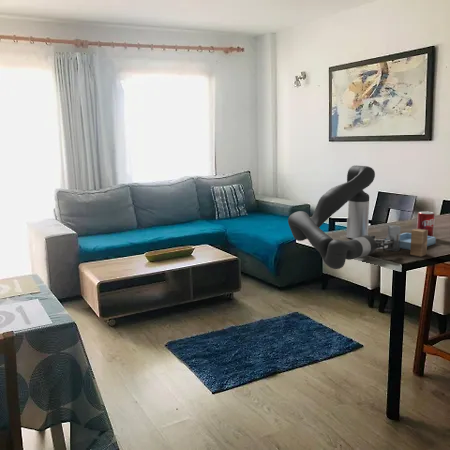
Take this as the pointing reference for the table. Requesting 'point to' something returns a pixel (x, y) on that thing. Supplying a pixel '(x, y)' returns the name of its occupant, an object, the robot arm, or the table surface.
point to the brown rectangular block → (419, 242)
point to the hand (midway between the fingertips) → (383, 239)
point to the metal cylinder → (394, 236)
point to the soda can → (426, 221)
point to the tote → (406, 240)
